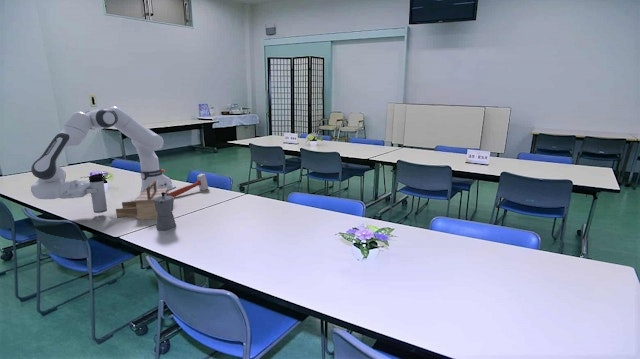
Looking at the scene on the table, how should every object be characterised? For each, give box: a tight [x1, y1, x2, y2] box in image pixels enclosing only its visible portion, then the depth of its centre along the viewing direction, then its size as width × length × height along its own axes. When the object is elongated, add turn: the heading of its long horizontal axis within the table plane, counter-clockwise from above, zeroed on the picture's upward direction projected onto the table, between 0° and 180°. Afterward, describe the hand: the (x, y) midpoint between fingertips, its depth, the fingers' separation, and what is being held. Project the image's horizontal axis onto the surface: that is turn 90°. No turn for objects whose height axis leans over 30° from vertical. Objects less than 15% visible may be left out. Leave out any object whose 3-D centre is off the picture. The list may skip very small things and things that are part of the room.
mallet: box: [167, 173, 209, 198], centre depth 234 cm, size 11×4×30 cm
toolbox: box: [115, 180, 169, 221], centre depth 195 cm, size 23×23×16 cm
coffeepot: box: [153, 192, 177, 232], centre depth 175 cm, size 15×9×18 cm, turn 13°
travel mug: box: [88, 173, 108, 214], centre depth 188 cm, size 6×7×20 cm
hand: (99, 188), depth 188 cm, fingers closed on travel mug, 6 cm apart
